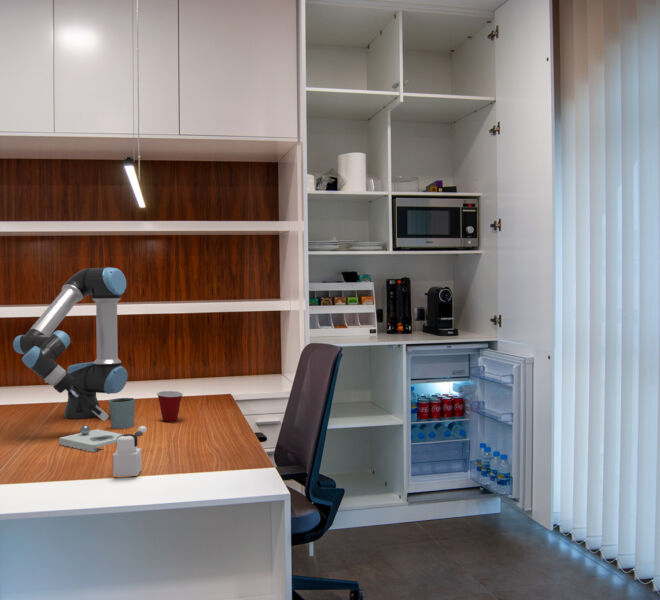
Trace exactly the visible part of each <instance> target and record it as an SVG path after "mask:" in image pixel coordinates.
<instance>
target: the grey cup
mask: <svg viewBox="0 0 660 600" xmlns="http://www.w3.org/2000/svg"><path fill="white" fill-rule="evenodd" d="M108 409H109V414H110V415H109V417H110V428H111V429H116V430H117V429H118V430H119V429H120V430H121V429H129V428H132V427H134V426H135V410H136V399H135V398H133V397H118V398H112V399H108Z"/></svg>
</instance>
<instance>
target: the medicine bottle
mask: <svg viewBox="0 0 660 600" xmlns="http://www.w3.org/2000/svg"><path fill="white" fill-rule="evenodd" d="M123 434H124V433H123ZM142 463H143V462H142V448H141V447H138V436H136V435H135V434H133V433H128V434H127V433H125V434H124V435H120V436H119V437H117V442H116V451H115V452H114V453H113V454H112V472H113V473H112V477H113V476H134V475H138V474H139V475H140V473H141V472H142V470H143V468H142V466H143V465H142ZM140 471H141V472H140ZM139 472H140V473H139ZM139 475H138V476H139Z"/></svg>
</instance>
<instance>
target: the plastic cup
mask: <svg viewBox="0 0 660 600" xmlns="http://www.w3.org/2000/svg"><path fill="white" fill-rule="evenodd" d="M156 395H157V398H158V401H159V402H158V403H159V407H160V408H159V409H160V413H161V418H162V421H163V422H165V423H173V422H177V421H178V418H179V412H180V406H181V401H182V398H183V395H184V393H183V392H181V391H175V390H162V391H158V392H156Z"/></svg>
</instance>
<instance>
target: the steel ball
mask: <svg viewBox="0 0 660 600" xmlns="http://www.w3.org/2000/svg"><path fill="white" fill-rule="evenodd" d="M90 431H91V428H90V426H89V425H86V424H84V425H82V426H80V429H79V433H81V434H83V435H87V434H88V433H89V432H90Z"/></svg>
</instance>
